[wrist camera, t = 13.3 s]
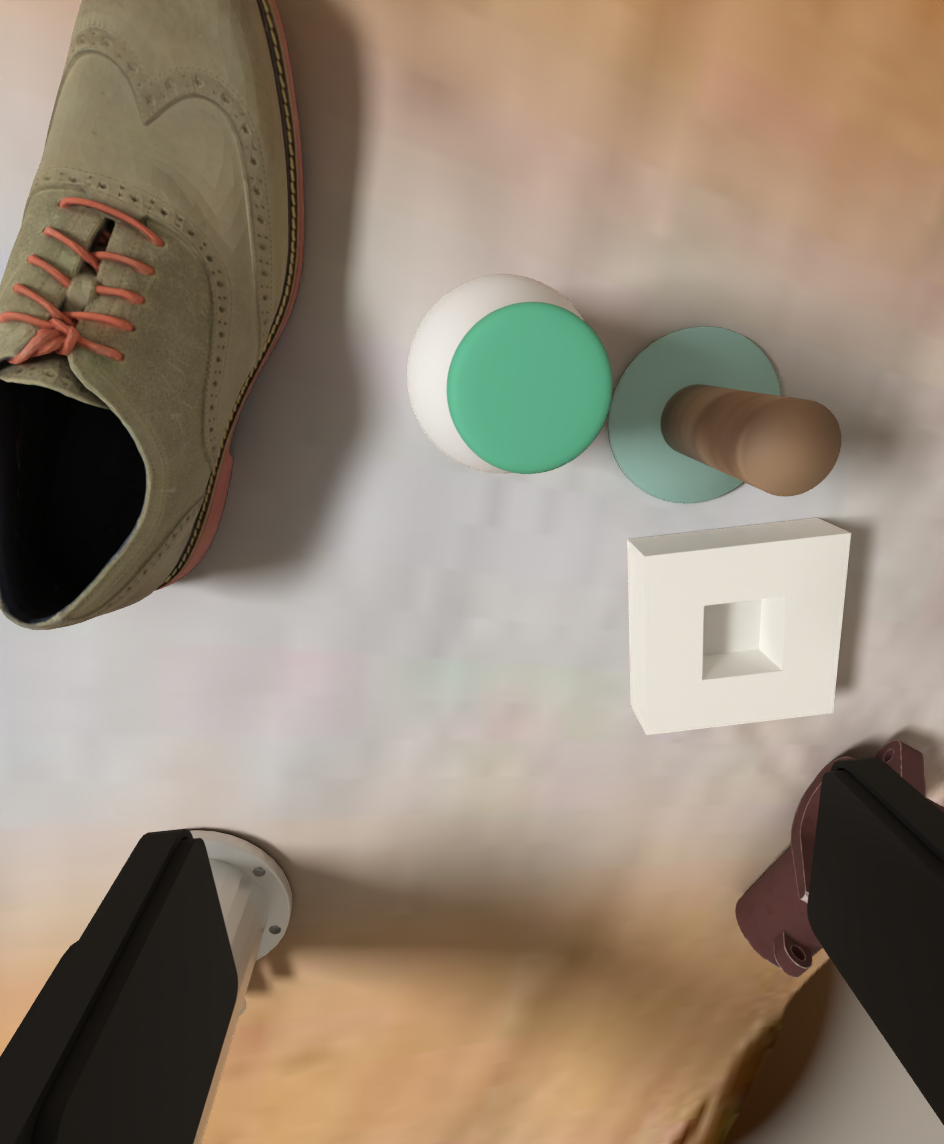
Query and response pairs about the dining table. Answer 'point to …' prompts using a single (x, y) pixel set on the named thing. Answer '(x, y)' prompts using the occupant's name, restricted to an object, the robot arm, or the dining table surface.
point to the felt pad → (651, 386)
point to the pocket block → (735, 624)
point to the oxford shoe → (143, 299)
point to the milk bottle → (508, 376)
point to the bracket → (804, 875)
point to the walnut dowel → (754, 436)
